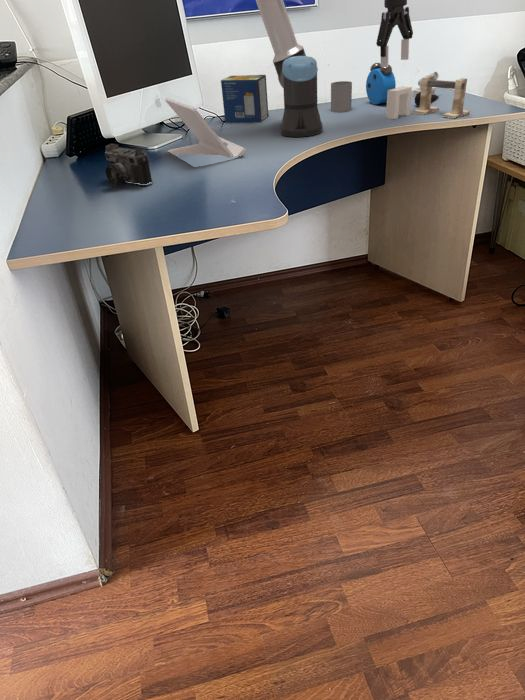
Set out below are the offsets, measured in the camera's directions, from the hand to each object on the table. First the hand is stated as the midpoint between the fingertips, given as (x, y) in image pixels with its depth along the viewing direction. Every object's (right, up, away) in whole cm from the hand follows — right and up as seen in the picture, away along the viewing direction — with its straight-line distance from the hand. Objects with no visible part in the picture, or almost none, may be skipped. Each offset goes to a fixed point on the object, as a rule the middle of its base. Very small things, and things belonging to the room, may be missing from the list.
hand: (394, 63), depth 190 cm
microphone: (+20, -4, +24) cm, 32 cm away
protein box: (-54, -11, +23) cm, 60 cm away
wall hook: (+22, +5, +36) cm, 42 cm away
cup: (-16, -6, +25) cm, 30 cm away
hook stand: (+19, -15, +6) cm, 25 cm away
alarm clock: (+1, -1, +29) cm, 29 cm away
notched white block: (+3, -16, +8) cm, 18 cm away
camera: (-88, -56, -37) cm, 111 cm away
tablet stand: (-67, -40, -16) cm, 79 cm away
